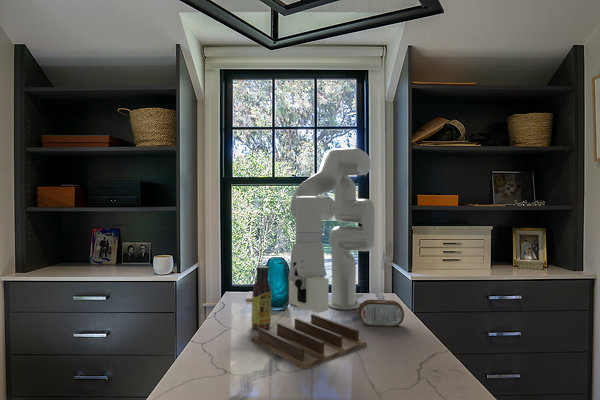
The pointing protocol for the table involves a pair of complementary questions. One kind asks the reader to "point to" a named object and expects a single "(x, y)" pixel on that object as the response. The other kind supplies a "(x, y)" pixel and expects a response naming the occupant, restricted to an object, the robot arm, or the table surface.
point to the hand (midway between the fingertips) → (307, 300)
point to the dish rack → (310, 341)
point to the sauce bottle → (261, 300)
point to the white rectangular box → (312, 294)
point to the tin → (381, 313)
